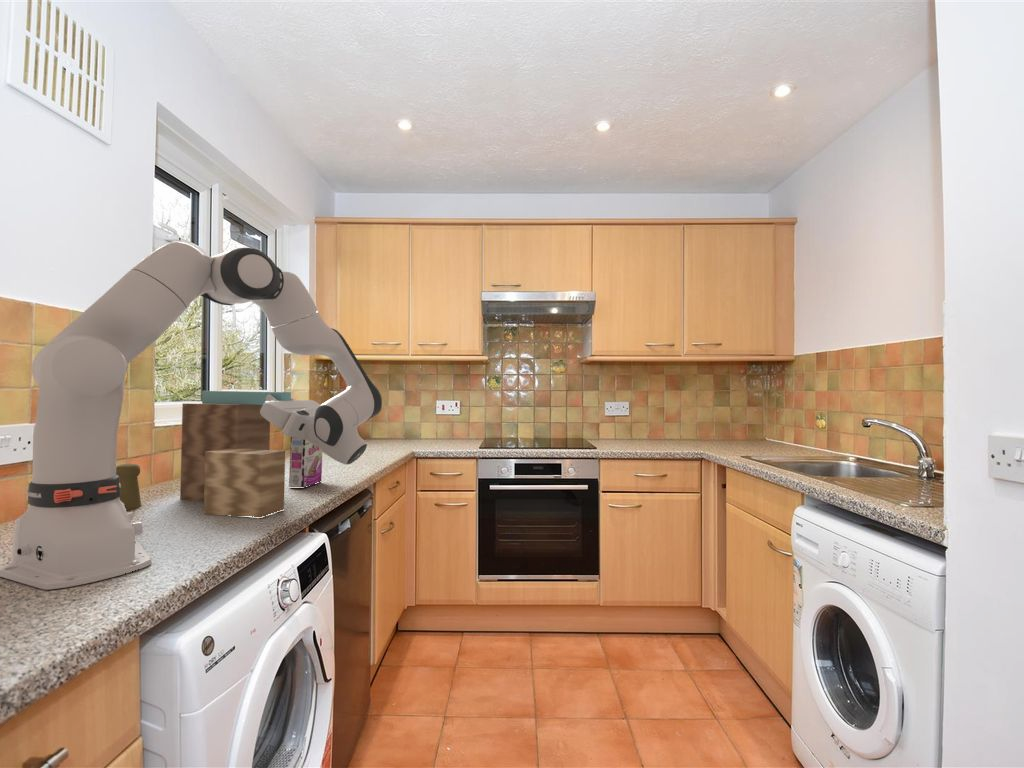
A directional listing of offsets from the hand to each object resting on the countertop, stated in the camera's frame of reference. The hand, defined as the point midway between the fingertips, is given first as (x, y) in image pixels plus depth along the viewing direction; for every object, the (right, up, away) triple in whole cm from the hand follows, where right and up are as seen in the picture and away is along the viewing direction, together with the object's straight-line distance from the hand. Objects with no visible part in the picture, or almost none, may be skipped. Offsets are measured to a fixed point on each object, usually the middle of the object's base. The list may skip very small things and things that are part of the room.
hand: (274, 396), depth 134 cm
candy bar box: (0, -29, +21) cm, 35 cm away
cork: (-32, -28, -11) cm, 44 cm away
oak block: (-1, -28, -14) cm, 31 cm away
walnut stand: (-15, -28, +3) cm, 32 cm away
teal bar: (-9, -2, +2) cm, 10 cm away
